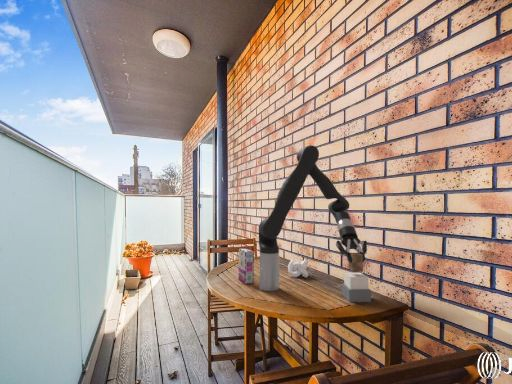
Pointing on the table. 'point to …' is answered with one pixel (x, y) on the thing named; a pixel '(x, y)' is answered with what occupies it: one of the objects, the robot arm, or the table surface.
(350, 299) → the tower base block
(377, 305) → the table surface
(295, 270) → the white knot sculpture
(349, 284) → the tower top block
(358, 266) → the walnut block
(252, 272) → the candy bar box
